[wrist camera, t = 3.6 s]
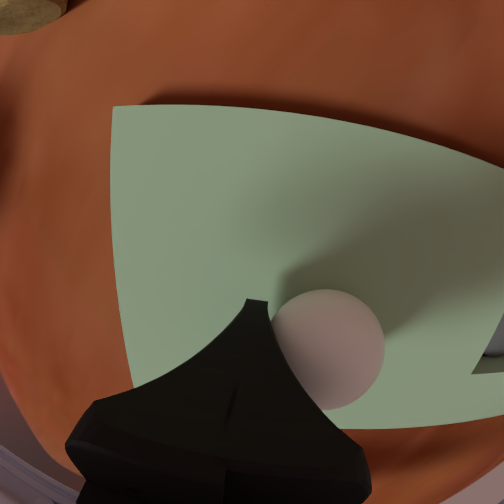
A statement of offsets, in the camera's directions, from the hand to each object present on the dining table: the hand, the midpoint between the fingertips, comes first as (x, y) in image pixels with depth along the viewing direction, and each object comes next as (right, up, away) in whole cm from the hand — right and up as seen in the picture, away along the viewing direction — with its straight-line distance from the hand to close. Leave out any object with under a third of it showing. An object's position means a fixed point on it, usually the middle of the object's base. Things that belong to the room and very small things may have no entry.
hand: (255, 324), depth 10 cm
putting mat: (+7, 0, +2) cm, 8 cm away
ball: (+2, -1, -1) cm, 2 cm away
